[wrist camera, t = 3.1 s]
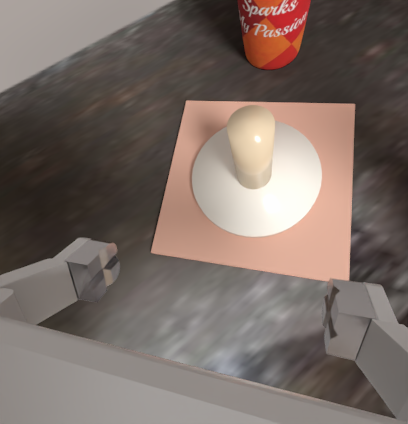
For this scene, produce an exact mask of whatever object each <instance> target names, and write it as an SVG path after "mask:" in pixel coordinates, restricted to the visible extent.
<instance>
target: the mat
mask: <svg viewBox="0 0 408 424" xmlns="http://www.w3.org/2000/svg"><path fill="white" fill-rule="evenodd" d="M248 105H258V106H262V107H264V108H266V109H268V110H269V111H270V112H271V113H272V115H273V117H274V119H275V121H279V122H282V123H285V124H287V125H289V126H291V127H293V128H295V129H296V130H298V131H299V132H301V133H302V134H303V135H304V136H305V137H306V138H307V139H308V140H309V141H310V142H311V144H312V145H313V147H314V148H315V150H316V152H317V154H318V157H319V160H320V163H321V169H322V181H321V187H320V191H319V194H318V196H317V198H316V201H315V203H314V205H313V206H312V208H311V209H310V211H309V212H308V213H307V215H306V216H305V217H304V218H303V219H302V220H301V221H300V222H298V223H297V224H296V225H294V226H293V227H291V228H290V229H288V230H286V231H284V232H282V233H279V234H276V235H273V236H268V237H261V238H248V237H242V236H237V235H234V234H231V233H228V232H226V231H224V230H222V229H221V228H219V227H218V226H216V225H215V224H214V223H213V222H211V221H210V220H209V219H208V218H207V216H206V215H205V214H204V213H203V211H202V210H201V208H200V207H199V205H198V203H197V201H196V199H195V196H194V192H193V187H192V172H193V167H194V163H195V160H196V158H197V155H198V154H199V152H200V150H201V148H202V147H203V146H204V144H205V143H206V142H207V141H208V140H209V139H210V138H211V137H212V136H213V135H214V134H216V133H217V132H218V131H220V130H221V129H223V128H225V127H227V122H228V120H229V118H230V116H231V115H232V114H233V113H234V112H235V111H236V110H238V109H239V108H241V107H244V106H248ZM354 122H355V104H338V103H283V102H229V101H186V104H185V109H184V113H183V117H182V121H181V126H180V130H179V134H178V139H177V143H176V147H175V151H174V156H173V160H172V164H171V168H170V173H169V177H168V181H167V185H166V190H165V194H164V198H163V202H162V207H161V211H160V215H159V219H158V224H157V228H156V232H155V237H154V241H153V245H152V249H151V253H153V254H159V255H166V256H172V257H178V258H184V259H190V260H197V261H203V262H209V263H215V264H221V265H228V266H234V267H240V268H246V269H252V270H259V271H265V272H271V273H277V274H283V275H290V276H296V277H302V278H308V279H314V280H321V281H327V282H328V281H329V279H330V278H335V279H342V280H348V281H349V266H350V237H351V208H352V179H353V151H354Z"/></svg>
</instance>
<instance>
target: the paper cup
mask: <svg viewBox="0 0 408 424" xmlns="http://www.w3.org/2000/svg"><path fill="white" fill-rule="evenodd" d="M237 1H238V8H239V15H240V22H241V29H242V36H243V42H244V49H245V54H246V57H247V60H248V61H249V62H250V64H252V65H253V66H254V67H256V68H259V69H263V70H275V69H279V68H282V67H284V66H286V65H288V64H289V63H291V62H292V61H293V60H294V59H295V57H296V56H297V54H298V51H299V48H300V45H301V41H302V37H303V33H304V28H305V24H306V19H307V15H308V10H309V6H310V1H311V0H237Z"/></svg>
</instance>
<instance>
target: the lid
mask: <svg viewBox="0 0 408 424" xmlns="http://www.w3.org/2000/svg"><path fill="white" fill-rule="evenodd" d="M321 181H322V169H321V163H320V160H319V157H318V154H317V152H316V150H315V148H314V147H313V145H312V144H311V142H310V141H309V140H308V139H307V138H306V137H305V136H304V135H303V134H302V133H301V132H299V131H298V130H296V129H295V128H293V127H291V126H289V125H287V124H285V123H282V122H279V121H275V119H274V117H273V115H272V113H271V112H270V111H269V110H268V109H266V108H264V107H262V106H258V105H248V106H244V107H241V108H239V109H238V110H236V111H235V112H234V113H233V114H232V115H231V116H230V118H229V120H228V122H227V127H225V128H223V129H221V130H220V131H218V132H217V133H216V134H214V135H213V136H212V137H211V138H210V139H209V140H208V141H207V142H206V143H205V144H204V146H203V147H202V148H201V150H200V152H199V154H198V155H197V158H196V160H195V163H194V167H193V172H192V187H193V192H194V196H195V199H196V201H197V203H198V205H199V207H200V208H201V210H202V211H203V213H204V214H205V215H206V216H207V218H208V219H209V220H210V221H211V222H213V223H214V224H215V225H216V226H218V227H219V228H221V229H222V230H224V231H226V232H228V233H231V234H234V235H237V236H242V237H248V238H261V237H268V236H273V235H276V234H279V233H282V232H284V231H286V230H288V229H290V228H291V227H293V226H294V225H296V224H297V223H298V222H300V221H301V220H302V219H303V218H304V217H305V216H306V215H307V213H308V212H309V211H310V209H311V208H312V206H313V205H314V203H315V201H316V198H317V196H318V194H319V191H320V187H321Z"/></svg>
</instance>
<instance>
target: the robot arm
mask: <svg viewBox="0 0 408 424" xmlns="http://www.w3.org/2000/svg"><path fill="white" fill-rule="evenodd" d="M116 253H117V247H116V245H115V244H114V243H112V242H106V241H101V240H96V239H89V238H84V237H81V238H78V239H76V240H75V241H74V242H73V243H71V244H70V245H69V246H68V247H66V248H65V249H64V250H63V251H61V252H60V253H59V254H58V255H56V256H55V257H54V258H53V259H46V260H43V261H40V262H37V263H34V264H31V265H28V266H26V267H23V268H20V269H17V270H14V271H11V272H8V273H5V274H2V275H0V424H408V328H407V327H406V326H404V325H401V324H398V322H397V320H396V317H395V315H394V313H393V310H392V308H391V305H390V303H389V301H388V298H387V296H386V294H385V291H384V289H383V287H382V286H381V285H379V284H371V283H364V282H363V283H361V282H354V281H348V280H342V279H335V278H330V279H329V281H328V285H327V291H328V295H326V296H325V297H324V301H323V306H322V323H323V326H324V327H325V328H326V330H325V334H324V339H325V347H326V354H330V355H334V356H338V357H342V358H346V359H350V360H354V361H356V364H357V365H358V366H359V368H360V369H361V370H362V372H363V373H364V374H365V376H366V377H367V379H368V380H369V381H370V383H371V384H372V385H373V387H374V388H375V389H376V391H377V392H378V394H379V395H380V396H381V398H382V399H383V400H384V402H385V403H386V404H387V406H388V407H389V409H390V410H391V411H392V413H393V414H394V415H395V417H396V419H394V418H390V417H386V416H382V415H378V414H374V413H371V412H367V411H363V410H359V409H355V408H351V407H348V406H344V405H340V404H336V403H332V402H328V401H325V400H321V399H317V398H313V397H309V396H305V395H302V394H298V393H294V392H290V391H286V390H282V389H279V388H275V387H271V386H267V385H263V384H259V383H256V382H252V381H248V380H244V379H240V378H236V377H233V376H229V375H225V374H221V373H217V372H213V371H210V370H206V369H202V368H198V367H194V366H190V365H187V364H183V363H179V362H175V361H171V360H167V359H164V358H160V357H156V356H152V355H148V354H144V353H141V352H137V351H133V350H129V349H125V348H121V347H118V346H114V345H110V344H106V343H102V342H98V341H94V340H91V339H87V338H83V337H79V336H75V335H71V334H68V333H64V332H60V331H56V330H52V329H48V328H45V327H41V326H37V324H38V323H40V322H42V321H43V320H45V319H47V318H48V317H50V316H52V315H53V314H55V313H57V312H59V311H60V310H62V309H64V308H65V307H67V306H69V305H70V304H72V303H74V302H75V301H77V300H78V299H81V300H86V301H91V302H98V301H99V300H100V298H101V297H102V296H103V295H104V294H105V292H106V291H107V286H108V285H110V284H112V283H114V281H115V280H116V279H117V277H118V274H119V272H120V262H119V260H118V258H117V257H116V256H115V255H116Z"/></svg>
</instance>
